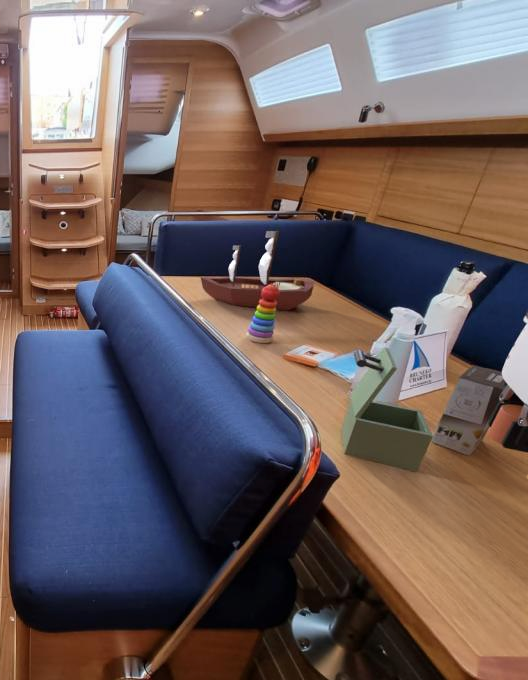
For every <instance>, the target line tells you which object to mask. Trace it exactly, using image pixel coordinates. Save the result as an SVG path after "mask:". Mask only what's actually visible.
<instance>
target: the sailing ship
mask: <svg viewBox="0 0 528 680" xmlns="http://www.w3.org/2000/svg"><path fill="white" fill-rule="evenodd" d="M279 232H280V231H279V230H275V231H273V230H266V232H265V238H266V239H267V238H268V241H267V242H266V244H265V246H264V247H265V248H264V249H265V250H266V252H265V253H264V254H263V255H262V257H261V259H260V260H259V264H258V271H259V277H248V276H237V273H238V272H237V271H238V265H239V261H240V254H241V248H242V245H241V244H240V245H232V250H233V251H234V252H233V254H232V259H233V260H232V261H231V263H230V264H229V266H228V275H229V276H221V277H220V276H219V277H218V276H217V277H215V276H214V277H213V276H205V277H204V276H200V282H201V285H202V289H203V290H204V293H206V294H207V295H208V296H210V297H211V298H212V299H214V300H216V301H219V302H221V303H222V302H224V303H226V304H230V305H233V306H237V307H238V306H240V307H248V308H256V309H257V306H258V305H260V304H259V301H260V300H261V299H263V298H262V296H261V292H262V290H263V288H264V287H266V286H269V285H273V286H276V287H277V288H278V289H279V291H280V294H279V297H278V298H277V299H276V300H275V301H276V302H277V305H276V306H275V308H276V311H285V312H288V311H290V310H293V309H294V308H297V307H298V306H300V305H302V304H304V303H305V302H306V301H308V300H309V299H310V298H311V297H312V295H313V290H314V286H315V280H312V279H306V278H300V277H289V278H288V277H287V278H270V275H271V270H272V265H273V261H274V256H275V251H276V246H277V242H278V237H279Z"/></svg>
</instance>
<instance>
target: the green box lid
mask: <svg viewBox="0 0 528 680" xmlns="http://www.w3.org/2000/svg"><path fill="white" fill-rule="evenodd" d="M353 356H354V359H355V363H356V366H357V367H358V368H365V367H366V368H368V369H367V370H366V372H365V373H364V374H363V376H361V378H360V380H359V381H358V382H357V384H356V385H355V386H354V388H353V390H352V391H351V392H350V394H349V396H350V400H351V401H352V406H353V411H354V416H355V417H357V418H360V417H361V415H362V414H363V413H364V411H365V410H366V409H367V407H368V406H369V405H370V404H371V402H372V401H374V400H375V399H376V397H377V396H378V394H379V393H380V392H381V391H382V390H383V388H384V387H385V385H386V384H387V383H388V382H389V380H390V379H391V378H392V377H393V375H394V374H395V373H396V372H397V370H398V368H397V365H396V363H395V360H394V358H393V356H392V354H391V351H390V349H389V348H388V347H383V348H382V349H381V351H380V352H379V353H378V355H377V356H376V357H374V356H372V355H369V354H366V353H365V352H364V351H363V350H362V349H357V350H355V351H354V352H353ZM368 361H370V362H372V363H370V362H368Z"/></svg>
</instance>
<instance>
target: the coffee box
mask: <svg viewBox="0 0 528 680" xmlns="http://www.w3.org/2000/svg"><path fill="white" fill-rule="evenodd" d="M505 382H506V381H505V380H504V379H503V377H502V371H499V370H496V369H492V368H487V367H482V366H479V365H474V364H473V365H471V366H470V367H469V368H468V369H467V370H465V371H464V372H463V373H461V375H459V377H458V380H457V382H456V384H455V386H454V389H453V391H452V393H451V395H450V397H449V399H448V402H447V404H446V406H445V408H444V411H443V413H442V415H441V417H440V419H439V421H438V423H437V426H436V428H435V430H434V433H432V435H433V437H432V440H431V442H432V443H434V444H437V445H439V446H442V447H444V448H446V449H448V450H452V451H454V452H457V453H460V454H463V455H466V456H471V455H472V454H473V452H474V451H475V450H476V449H477V447H479V445H480V444H481V442H482V441H483V440H484V438H485V436H486V435H487V434H488V432H489V430H490V428H491V427H490V426H489V425H488V422H489V420H490V418H491V416H492V414H493V412H494V410H495V408H496V406H497V404H498V402H501V401H500V400H499V397H500V395H501V393H502V392H503V390H504V389H505V386H504V383H505ZM501 403H503V402H501ZM431 442H430V443H431Z"/></svg>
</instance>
